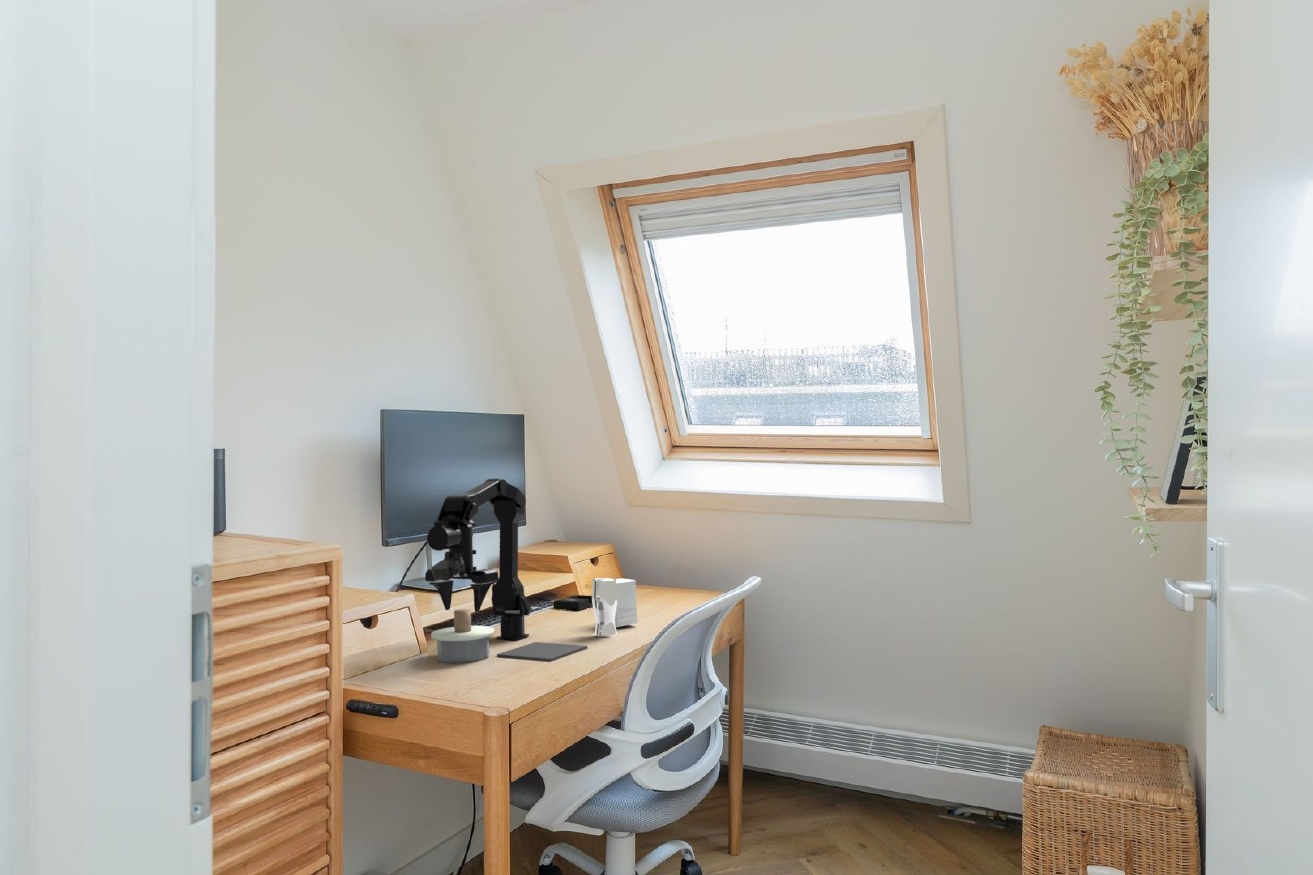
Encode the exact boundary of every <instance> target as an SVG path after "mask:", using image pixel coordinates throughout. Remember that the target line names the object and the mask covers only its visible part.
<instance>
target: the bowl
mask: <svg viewBox="0 0 1313 875" xmlns="http://www.w3.org/2000/svg"><path fill="white" fill-rule="evenodd" d="M436 645H437V646H436V649H437V651H436V652H437V659H438V661H439V662H441V663H445V664H468V663H473V662H474V663H475V662H481V661H484V660H486V659H488V658H489V655H490V636H489V637H486V638H482V639H476V640H467V641H438V640H436Z"/></svg>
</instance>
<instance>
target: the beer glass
mask: <svg viewBox="0 0 1313 875" xmlns="http://www.w3.org/2000/svg"><path fill="white" fill-rule="evenodd" d="M616 579H617V578H614V577H602V578H601V577H600V578H599V577H598V578H593V579H591V596H592V604H593V607H592V609H593V615H594V618H595V629H594V636H595V637H598V638H610V637H615V636H617V635H618V632H617V627H616V626H615V615H616V608H617V584H616Z"/></svg>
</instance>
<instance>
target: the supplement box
mask: <svg viewBox="0 0 1313 875" xmlns="http://www.w3.org/2000/svg"><path fill="white" fill-rule="evenodd" d="M615 579H616V584H617V608H616V615H615V626H616V628H619V627H624V626H630V625H637V624H638V615H637V614H638V611H637V610H638V609H637V608H638V607H637V586H636V585H637V583H636V580H635V579H629V578H615Z"/></svg>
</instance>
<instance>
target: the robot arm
mask: <svg viewBox="0 0 1313 875" xmlns="http://www.w3.org/2000/svg"><path fill="white" fill-rule="evenodd" d="M526 502H527V501H526V496H525V495H524V493H523V492H522V491H521V490H520V489H519V488H518V487H516V486H514V485H512V484H510V483H508V482H507V481H506V480H505V478H504V479H503V478H488V479H486V480H485V481H484V482H483V483H481V484H479V485H477V486H476V487H474V488H472V489H470V490H468V491H467V492H463V493H458V494H452V495H447V496H446V497H445V499H444V501H443V503H442V505H441V508H440V511H439V513H438V517H437V519H436V521H434V523H433V527H431V529H430V530H429V531H428V533H427V535H426V541H427V544H428V546H429V547H430V548H431V550H433V551H437V552H438V551H443V550H444V551H445V550H448V551H445V553H444V558H443V560H442V559H441V560H440V561H438V562H437V563H435V564H434V565H432V566H431V568H428V569H427V570H426V571H425V573H424V575H425V577H424V578H425V580H424V581H425V582H428V583H429V585H430V586H432V587H434V588H435V589H436V590H437V592H438V594H439V597H440V599H441V602H442V604H443V607H444V609H445V611H450V610H451V605H452V597H453V587H454V579H455V580H470V581H471V582H472V584H471V583H470V584H469V585H470V587H471V589H472V590H473V607H474V612H475V613H477V612H479V611H480V610H481V608H482V605H483V603H484V601H485V598H486V595H487V594H488V592H489V590H490V588H491V605H492V609H493V610H492V611H493V613H494V616H500V624H499V625H500V635H498V636H496V639H497V640H499V639H500V640H510V641H511V640H512V641H513V640H514V641H516V640H521V639H523V638H527V637H529V636H530V633H525V616H530V614H531V610H532V606H531V603H530V602H529V600H528V598H527V597H526V595H525V587H524V585H523V584H522V581H521V580H520V578H519V577H518V576H519V575H518V574H519V573H518V571H519V522H520V521H521V519H522V517H524V516H523V515H524V514H525V507H526ZM486 503H490V505H492V507H493V514H494V516H495V519H497V521H498V523H499V569H498V570H499V572H498V571H497V569H494V568H493V569H492V568H482V569H478V570H477V566H474V555H477V550H476V549H474V547H473V528H474V527H476V526H477V524H476V522H475V521H473V520H472V519H473V518H474V517H475V516H476V515H477V514H478V513H479V508H480V506H481V507H482V505H484V504H486Z"/></svg>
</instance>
